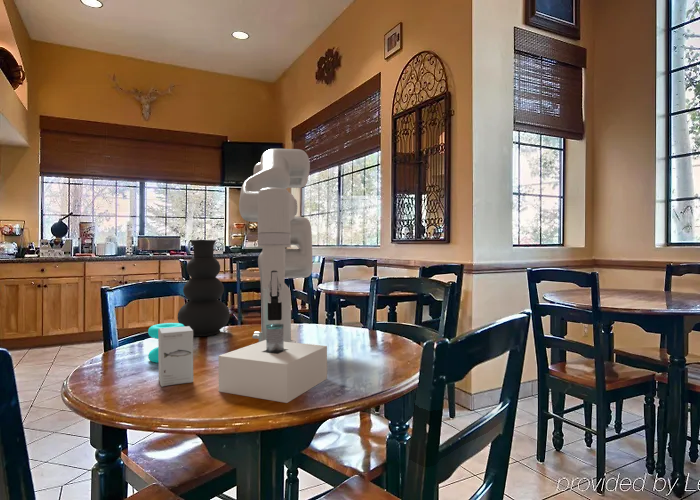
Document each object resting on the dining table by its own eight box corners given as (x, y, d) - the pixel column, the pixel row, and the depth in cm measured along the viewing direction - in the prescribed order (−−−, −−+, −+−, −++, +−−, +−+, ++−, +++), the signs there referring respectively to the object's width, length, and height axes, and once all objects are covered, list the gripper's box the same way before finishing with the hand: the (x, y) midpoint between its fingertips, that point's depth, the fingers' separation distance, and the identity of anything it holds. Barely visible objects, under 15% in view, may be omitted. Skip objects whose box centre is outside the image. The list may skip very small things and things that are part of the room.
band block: (218, 391, 97) (218, 355, 97) (266, 370, 114) (265, 339, 114) (287, 402, 90) (286, 364, 90) (327, 378, 106) (326, 346, 106)
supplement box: (160, 387, 100) (160, 333, 100) (158, 379, 107) (157, 327, 107) (194, 382, 104) (193, 330, 104) (190, 374, 110) (189, 325, 110)
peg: (262, 358, 101) (262, 325, 101) (272, 354, 104) (272, 323, 104) (277, 360, 99) (277, 327, 99) (287, 356, 103) (286, 324, 103)
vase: (192, 329, 171) (191, 240, 171) (237, 329, 169) (236, 240, 169) (167, 339, 153) (166, 240, 153) (218, 340, 151) (217, 239, 151)
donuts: (191, 324, 126) (157, 329, 118) (192, 359, 126) (157, 366, 118) (175, 320, 132) (142, 325, 125) (176, 353, 133) (142, 359, 125)
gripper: (259, 241, 108) (259, 315, 108) (256, 240, 93) (256, 326, 94) (289, 241, 109) (290, 314, 110) (291, 240, 95) (292, 324, 95)
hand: (274, 319), depth 102 cm, fingers closed
